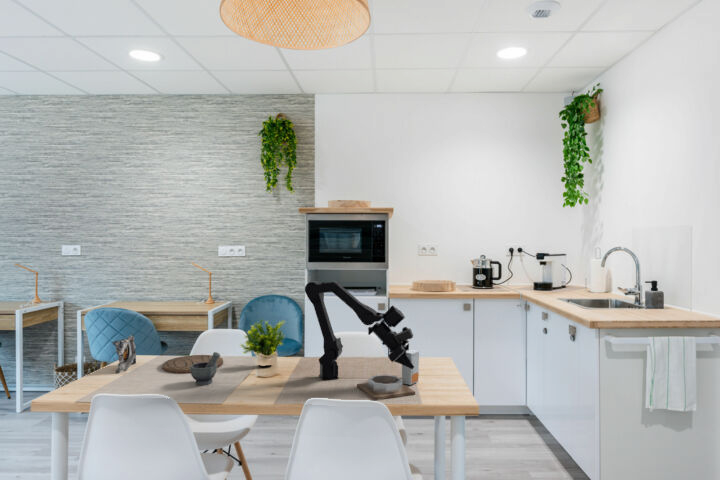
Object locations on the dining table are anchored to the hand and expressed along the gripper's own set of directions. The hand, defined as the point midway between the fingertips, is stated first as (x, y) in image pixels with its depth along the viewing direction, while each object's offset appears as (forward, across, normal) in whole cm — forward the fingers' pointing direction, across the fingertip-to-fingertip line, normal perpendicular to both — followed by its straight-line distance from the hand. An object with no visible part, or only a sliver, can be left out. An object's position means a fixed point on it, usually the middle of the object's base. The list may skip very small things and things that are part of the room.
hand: (414, 365), depth 175 cm
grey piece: (-80, -7, +93) cm, 123 cm away
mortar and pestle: (-50, -17, +61) cm, 80 cm away
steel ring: (-2, -11, +12) cm, 16 cm away
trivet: (-62, +5, +75) cm, 98 cm away
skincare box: (+4, 0, +6) cm, 7 cm away
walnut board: (-2, -11, +12) cm, 16 cm away
